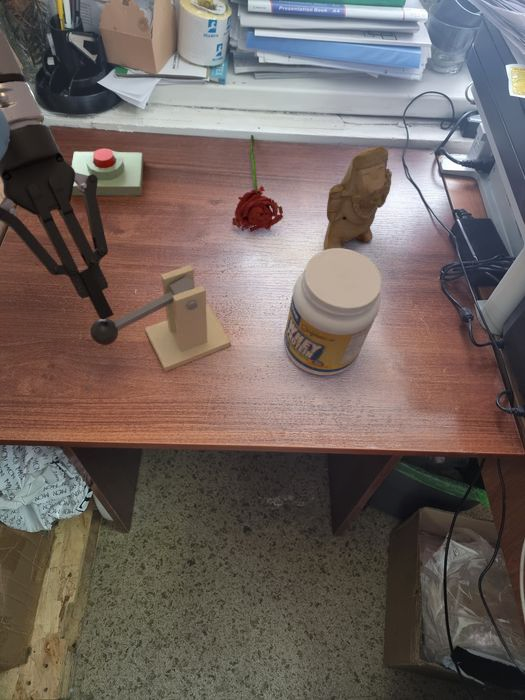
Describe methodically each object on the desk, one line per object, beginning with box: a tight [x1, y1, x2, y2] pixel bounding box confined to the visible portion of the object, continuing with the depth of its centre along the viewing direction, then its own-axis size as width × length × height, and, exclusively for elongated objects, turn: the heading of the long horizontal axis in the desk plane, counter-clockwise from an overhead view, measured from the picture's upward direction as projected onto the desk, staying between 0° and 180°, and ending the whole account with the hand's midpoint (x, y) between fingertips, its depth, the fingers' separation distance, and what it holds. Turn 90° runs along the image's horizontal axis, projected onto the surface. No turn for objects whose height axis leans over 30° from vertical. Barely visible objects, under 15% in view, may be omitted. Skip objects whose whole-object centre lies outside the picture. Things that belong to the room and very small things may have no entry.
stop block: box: [71, 149, 144, 197], centre depth 96 cm, size 13×10×4 cm
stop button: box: [93, 147, 115, 168], centre depth 94 cm, size 4×4×2 cm
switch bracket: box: [144, 264, 232, 373], centre depth 74 cm, size 11×8×14 cm
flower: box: [231, 134, 284, 233], centre depth 99 cm, size 9×10×30 cm
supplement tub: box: [283, 247, 382, 376], centre depth 74 cm, size 12×12×17 cm
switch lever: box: [90, 276, 194, 346], centre depth 69 cm, size 15×4×4 cm, turn 118°
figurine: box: [323, 145, 393, 250], centre depth 85 cm, size 13×7×20 cm, turn 118°
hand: (106, 316), depth 66 cm, fingers closed
